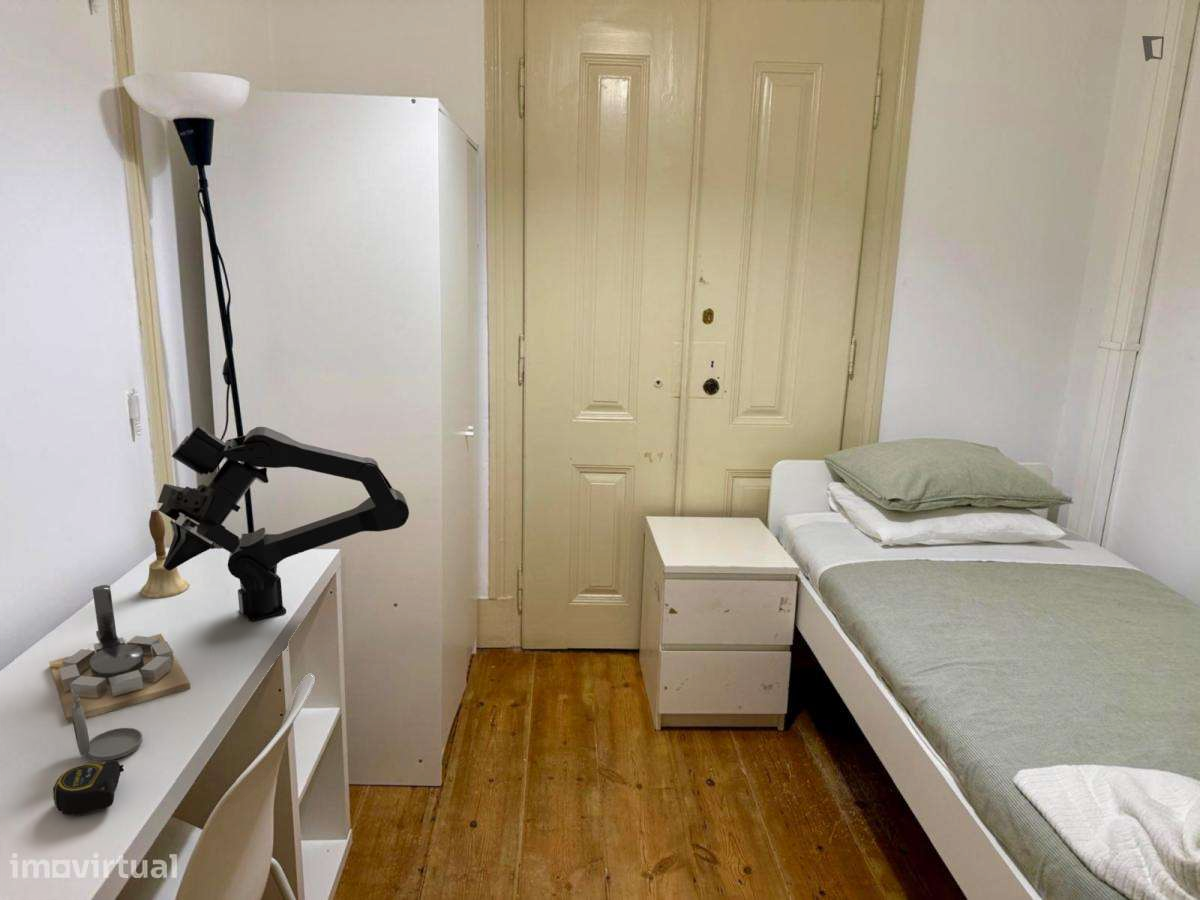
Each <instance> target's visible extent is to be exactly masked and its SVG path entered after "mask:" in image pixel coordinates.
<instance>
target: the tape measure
mask: <svg viewBox="0 0 1200 900" xmlns="http://www.w3.org/2000/svg"><path fill="white" fill-rule="evenodd" d="M124 766H125V765H124V764H121V765H120V762H119V761H118V760H116V759H113V760H105V762H103V763H102V762H88V763H84V764H80V765H76V766H75V767H72V768H70V769H68V770H66V771H65V772H64V773H62V774H61V775H60V776H59V777H58V778H57V780H56V781H55V783H54V785H53V789H52V795H53V797H52V798H53V802H54V803H53V804H54V807H56V809H57V811H59V812H61V813H62V814H63V815H67V816H83V815H85V814H90V813H92V812H93V813H94V812H96V811H99V810H105V809H107V808H110V807H111V806H112V805H113V804H114V801H115V793H116V790H117V787H118V784H119V782H120V781H119V780H120V777H121V773H122V772H124V771H125V770H124V768H123V767H124Z"/></svg>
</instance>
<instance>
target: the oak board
mask: <svg viewBox="0 0 1200 900" xmlns="http://www.w3.org/2000/svg"><path fill="white" fill-rule="evenodd" d="M149 637H154V638H159V642H160V643H161V642H165V641H166V639H165V638H164V636H163V635H162V633H159V634H156V635H155V634H154V635H151V636H149ZM127 642H128V641H127ZM127 642H125V644H127ZM93 650H94V651H95V649H93ZM71 656H72V655H70V656H65V657H62V658H57V659H54V660H49V669H50V671H51V674H52V675H51V676H52V678H53V681H54V684H55V686H56V690H57V693H58V696H59V700H60V702H61V706H62V710H63V712H64V716H65V719H66V722H67V724H70V723H71V724H72V723H73V719H72V706H73V705H75V703H74V697H73V696H72V693H71V690H70V691H66V692H64V689H63V686H62V683H61V680H60V674H59V668H62V667H64V666H63V661H65V660H66V659H68V658H69V657H71ZM173 658H174V663H171V668H172V669H171V670H170V671H168V672H167V673H166V674H165V675H164V676H162V677H161V678H160V679H159V680H158V681H156V682H147V681H142V683H143V688H142V689H138V690H135V691H131V692H128V693H124V694H121V695H117V696H112V694H111V691H110V687H109V685H107V688H108V691H106V692H105V693H104V694H102V695H101V696H100V697H99V698H89V697H79V698H80V705H81V706H82V708H83V711H84V715H85V719H87V718H91V717H95V716H97V715H98V716H99V715H102V714H105V713H109V712H111V711H112V712H113V711H115V710H118V709H119V710H120V709H123V708H126V707H129V706H134V705H136V704H140V703H144V702H147V701H150V700H153V699H158V698H162V697H164V696H168V695H171V694H175V693H178V692H179V693H180V692H183V691H185V690H186V691H187V690H189V689H191V684H190V683H191V682H190V680H189V678H188V677H187V675H186V674H185V672H184V671H183V668H182V667H181V665H180V664H179V662H178V660H177V659H176V657H175V655H174V654H173ZM152 659H154V657H153V655H152V656H148V655H143V660H144V666H145V665H146V664H147V663H149V662H150V661H151V660H152ZM80 676H88V677H92V672H91V666H90V667H88V668H87V669H86V670H84V671H83V672H81V673H80Z"/></svg>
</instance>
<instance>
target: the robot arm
mask: <svg viewBox="0 0 1200 900" xmlns="http://www.w3.org/2000/svg"><path fill="white" fill-rule="evenodd" d="M171 457H172V458H173V459H175V460H176V461H178V462H179V463H180V464H182V465H184V466H186V467H187V468H189V469H190V470H192V471H193V472H195V473H197V474H198V475H200V476H202V475H205V476H206V475H208V474H210V475H211V474H213V473H214V472H215V470H217V468H218V467H219V466H220V464H221V463H222V461H223V460H225V462H224V463H223V464H222V466H221V467H220V468H219V469H218V471H217V472H216V473H215V475H214V476H213V477H212V479H211V480H210V481H209V482H208V484H207V485H205V484H202V483H201V484H200V485H198V486H197V487H193V488H192V487H191V486H185V487H181V486H179V485H174V484H173V485H172V484H167V483H164V484H163V486H162V488H161V492H160V495H159V497H158V500H157V503H159V504H161V506H160V507H159V508H158V509H157V510H159V513H162V514H163V515H165V516H167V517H168V518H171V519H172V520H170V522H169V523H170V525H171V526H172V531H173V537H172V540H171V543H170V547H169V550H168V552H167V553H166V556H167V557H166V560H165V563H164V565H163V567H164V568H165V569H167V570H169V571H170V570H172V569H174V568H176V567H177V568H178V567H179V566H181V565H182V564H183V565H184V563H186V562H188V561H190V560H191V559H193V558H195V557H197V556H199V555H201V554H203V553H204V552H207V551H208V550H211V549H212V550H214V549H215V548H216V546H215V545H217V546H219V547H221V548H222V549H223V550H225V551H226V552H229V557H228V562H227V569H228V572H229V573H230V574H231V575H232V576H233V577H234V578H237V579H238V580H239V584H240V585H239V587H240V588H239V589H237V597H238V598H237V599H238V608H239V612H240V613H241V614H242V615H243V616H245V618H246V619H247V620H248V621H249V622H255V621H258V620H261V619H262V620H263V619H266V618H270V617H274V616H279V615H282V614H285V613H287V609H286V608H285V606H284V605H283V603H284V602H283V592H282V578H281V577H280V576H279V575H278V574H277V573H278V564H279V563H280V562H282V561H283V560H285V559H287V558H290V557H293V556H296V555H299V554H302V553H304V552H307V551H310V550H313V549H316V548H318V547H319V548H320V547H322V546H324V545H327V544H330V543H332V542H333V543H334V542H336V541H338V540H342V539H345V538H348V537H350V536H353V535H356V534H359V533H363V532H375V533H379V532H384V531H385V532H386V531H390V530H396V529H399V528H401V527H403V526H404V525H405V524H406V522H407V520H408V519H409V516H410V509H409V506H408V503H407V500H406V497H405V496H404V494H403V493H402V492H401V491H399V490H397V489H395V488H394V487H393V486H392V485H391V483H390V482H389V480H388V479H387V477H386V476H385V474H384V473H383V472H382V470H381V469H380V467H379V464H378V462H377V461H376V460H375V459H374V458H372V457H361V456H358V455H355V454H349V453H345V452H340V451H335V450H332V449H328V448H327V449H326V448H323V447H319V446H314V445H311V444H307V443H302V442H300V441H297V440H295V439H293V438H291V437H290V436H288V435H286V434H284V433H281V432H279V431H277V430H274V429H272V428H270V427H269V428H268V427H265V426H256V427H255V428H252V429H251V430H249V431H248V432H247V433H246V434H245V435H242V436H238V437H237V436H236V437H234V438H233V437H232V438H229V439H227V440H225V441H223V440H222V439H221V438H218V437H217V436H215V435H214V434H212V433H211V432H210V431H208V429H207V428H205V426H202V424H198V425H196V427H195V428H194V429H193V430H192V431H191V432H190V433H189V435H186V436H185V437H184V438H183V440H182V441H181V442H180V443H179V445H178V446H177V448H176V449H175V450H174V452H173V453H172V454H171ZM268 468H269V469H272V468H273V469H282V468H298V469H302V470H307V471H312V472H316V473H321V474H325V475H328V476H329V475H330V476H334V477H339V478H343V479H349V480H353V481H357V482H360V483H362V485H363V487H364V488H365V491H366V492H367V493H368V495H369V497H368V498H366V500H364V501H362V502H361V503H360V504H359V505H357V506H356V507H354V508H352V509H349V510H346V511H342V512H339V513H337V514H334V515H331V516H328V517H325V518H322V519H319V520H316V521H314V522H313V521H312V522H310V523H308V524H304V525H302V526H298V527H295V528H293V529H289V530H287V531H284V532H280V533H276V534H275V533H274V534H273V533H267V531H266V527H262V528H259V529H257V530H255V531H252V532H249V533H242V534H241V537H239V536H237V535H236V534H235V533H233V532H232V531H230V530H228V529H227V527H225V526H224V525H223V524H224V522H225V521H226V519H227V518H228V517H229V516H230V514H231V513H232V512H233V511H234V512H236V513H238V512H239V510H240V509H241V506H239V505H238V503H239V502H240V500H241V499H242V498H243V497H244V495H245V494H246V493H247V491H248V490H249V489H250V487H251V486H252V485H253V483H254V482H255V480H256V481H258V482H259V483H261V484H268V483H269V478H268V474H267V473H268ZM213 544H215V545H213Z"/></svg>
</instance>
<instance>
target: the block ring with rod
mask: <svg viewBox="0 0 1200 900" xmlns="http://www.w3.org/2000/svg"><path fill="white" fill-rule="evenodd" d="M92 596H93V604H94V611H95V617H96V623H97V624H96V625H97V630H96V631H95V634H96V638H97V640H98V642H97V643H93V647H94V649H83V648H82V649H79V650H78V651H77V652H75V653H74V654H73V655H70V656H71V657H69V656H68V657H69V658H68V659H66V660H65V661H63V666H64V667H62V668H59V674H60V680H61V683H62V686H63V689H64V692H66V691H70V690H71V689H73V690H74V692H75V694H76V695H78V696H79V697H89V698H99V697H100V696H101V695H102V694H104V693H105V692H106V691H108V688H107V681H106V678H99V677H88V676H80V673H81V672H83V671H84V670H86V669H87V668H88V667H90V666H91V665H90V658H91V657H92V656H93V655H94V654H95V653H97V652H98V651H100V650H103V649H105V648H108V647H112V646H116V645H124V644H125V643H126V642H125V639H124V637H118V635H117V629H116V627H117V626H116V621H115V612H114V606H113V605H114V604H113V598H112V590H111V586H110V585H108V584H103V585H102V584H101V585H98V586H94V587H93V588H92ZM127 644H131V645H137V646H139V647H141V649H142V652H143V655H148V656H152V655H153V657H154V659H152V660H151V661H150V662H149V663H147V664H146V665H145V666H144V667H142V668H141V669H140V670H141V674H140V672H139V670H136V671H133V672H129V673H125V674H121V675H118V676H114V677H110V678H108V679H109V687H110V691H111V694H112V696H117V695H121V694H124V693H128V692H131V691H135V690H138V689H142V688H143V683H142V681H147V682H156V681H158V680H159V679H160V678H161V677H162V676H164V675H165V674H166V673H167V672H168V671H170V670H171V669H172V668H171V663H174V658H173V655H174V652H173V651H174V650H172V647H171V646H170V644H169V643H168V641H167V640H165V642H161V643H160V642H159V638H154V637H150V636H143V635H141V636H140V635H135V636H134V637H132V638H130V640H128V641H127ZM94 650H95V651H94ZM72 696H73V695H72Z"/></svg>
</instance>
